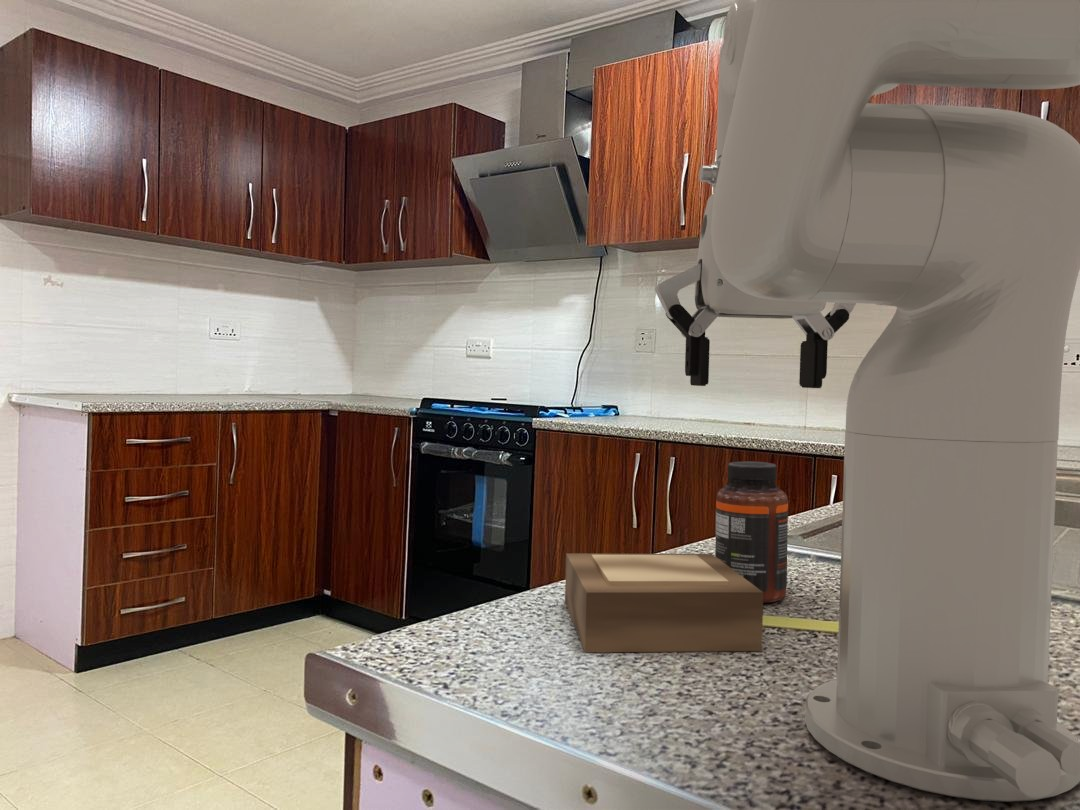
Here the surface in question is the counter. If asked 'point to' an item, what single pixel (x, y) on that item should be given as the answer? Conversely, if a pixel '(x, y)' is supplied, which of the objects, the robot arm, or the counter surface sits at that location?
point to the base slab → (661, 603)
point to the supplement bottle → (754, 527)
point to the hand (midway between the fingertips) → (755, 386)
